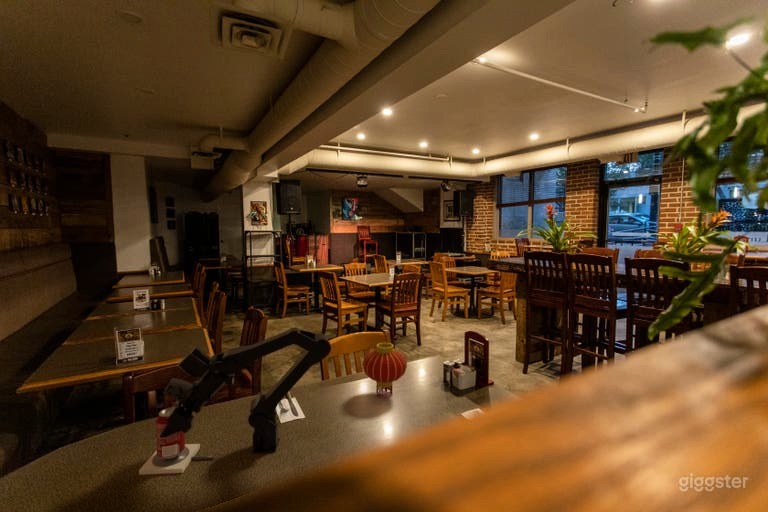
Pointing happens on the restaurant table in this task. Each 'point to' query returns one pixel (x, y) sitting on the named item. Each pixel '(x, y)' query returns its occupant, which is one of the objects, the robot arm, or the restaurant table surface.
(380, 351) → the lantern
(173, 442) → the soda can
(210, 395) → the robot arm
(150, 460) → the charging dock
